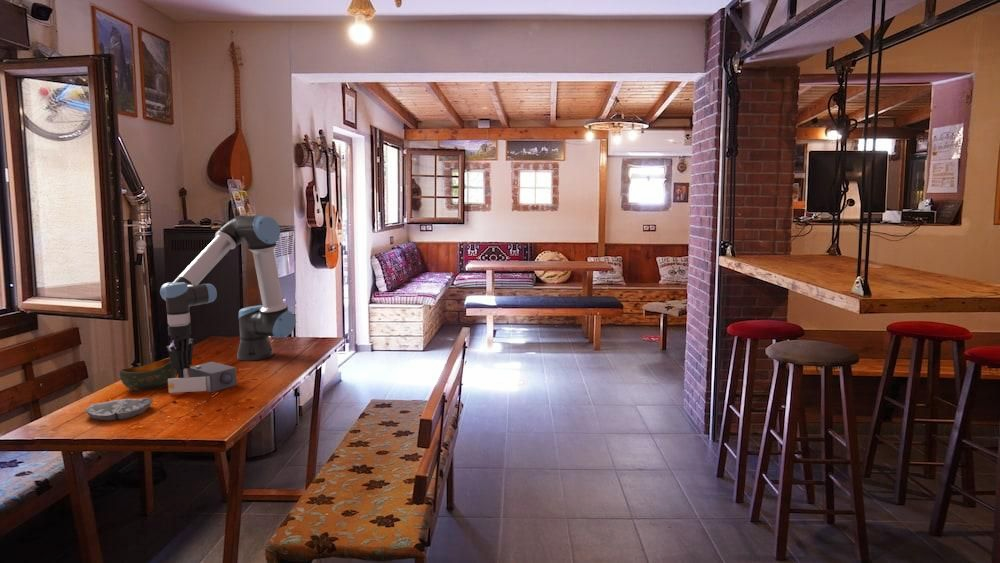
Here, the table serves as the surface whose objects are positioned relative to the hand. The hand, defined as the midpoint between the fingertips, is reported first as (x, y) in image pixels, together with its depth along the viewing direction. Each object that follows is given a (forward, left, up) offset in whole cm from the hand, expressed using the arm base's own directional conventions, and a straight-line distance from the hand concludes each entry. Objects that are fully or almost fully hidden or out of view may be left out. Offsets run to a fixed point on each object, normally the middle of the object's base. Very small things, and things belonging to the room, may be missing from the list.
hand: (184, 385), depth 236 cm
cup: (+4, -15, -2) cm, 15 cm away
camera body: (-10, +2, -2) cm, 11 cm away
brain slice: (+26, +6, -3) cm, 27 cm away
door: (+1, +5, -2) cm, 5 cm away
